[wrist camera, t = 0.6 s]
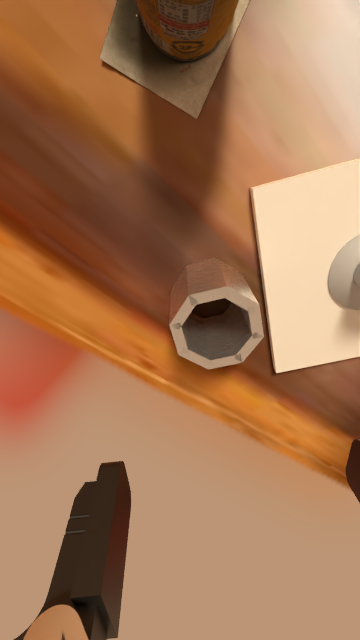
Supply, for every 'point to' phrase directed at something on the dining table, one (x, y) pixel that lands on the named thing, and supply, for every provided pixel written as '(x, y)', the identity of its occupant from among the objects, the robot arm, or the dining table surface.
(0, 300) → the dining table surface
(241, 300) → the collar
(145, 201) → the dining table surface
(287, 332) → the duct flange
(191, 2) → the condiment
